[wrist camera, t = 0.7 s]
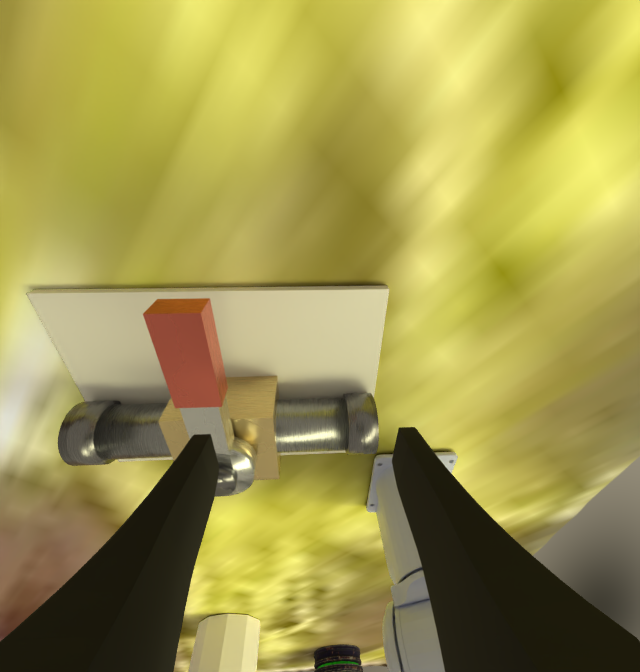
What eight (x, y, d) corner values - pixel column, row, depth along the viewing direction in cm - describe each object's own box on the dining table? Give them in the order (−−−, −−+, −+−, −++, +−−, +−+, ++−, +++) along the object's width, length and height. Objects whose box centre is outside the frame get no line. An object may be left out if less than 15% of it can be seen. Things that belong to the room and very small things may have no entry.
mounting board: (365, 446, 28) (366, 451, 27) (122, 455, 27) (118, 461, 26) (386, 285, 19) (389, 289, 19) (33, 289, 18) (25, 293, 18)
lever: (259, 474, 21) (256, 503, 19) (196, 477, 21) (187, 506, 19) (231, 298, 14) (221, 318, 12) (135, 299, 14) (111, 320, 12)
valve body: (362, 425, 26) (373, 474, 22) (116, 434, 25) (82, 487, 21) (369, 368, 23) (383, 414, 19) (86, 375, 22) (38, 425, 18)
